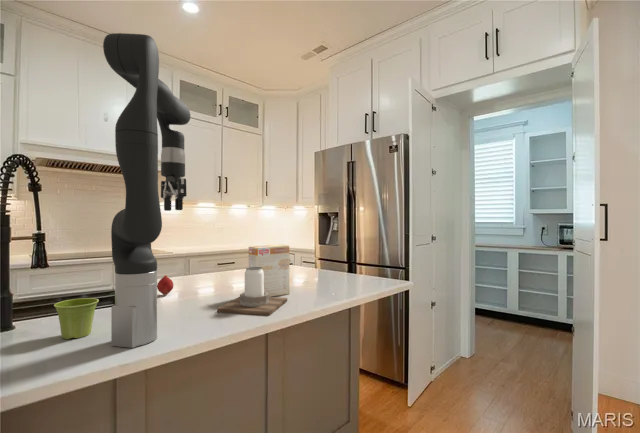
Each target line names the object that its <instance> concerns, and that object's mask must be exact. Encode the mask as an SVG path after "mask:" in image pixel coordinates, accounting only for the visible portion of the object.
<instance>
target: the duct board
mask: <svg viewBox="0 0 640 433" xmlns="http://www.w3.org/2000/svg"><path fill="white" fill-rule="evenodd" d="M287 302H288V297H278V296H272V297H269V293H268V292H264V296H259V297H246V296H245V291H244V292H242V293H239V296H238V297H236V298H234V299H232V300H230V301H229V302H227V303H225V304H223V305H221V306H219V307H217V308H216V309H217V310H216V311H217V313H230V314H240V315H241V314H243V315H256V316H257V315H259V316H271V315H273V313H275V312H276V311H277V310H279V308H281V307H282V306H284V305H285V304H286V303H287Z"/></svg>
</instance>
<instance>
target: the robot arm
mask: <svg viewBox="0 0 640 433" xmlns="http://www.w3.org/2000/svg"><path fill="white" fill-rule="evenodd" d="M102 43H103V44H102V48H103V55H104V58H105V60H106V63H107V64H108V65H109V67H110V69H112V71H113V72H115V73H116V74H117V75H118V76H119V77H121V78H122V79H123V80H125V81H126V82H127V83H128V84H130V86H132V87H133V88H135V91H134V93H133V96H132V97H131V99H130V100H129V102H128V103H127V104H126V106H125V107H124V109H123V110H122V112H121V113H120V115H119V116H118V118H117V120H116V123H115V130H114V132H115V133H114V135H115V136H114V138H115V153H116V158H117V161H118V165H119V168H120V171H121V174H122V177H123V180H124V184H125V186H124V187H125V206H124V207H125V208H123V209H121V210H120V211H118V212H117V213H116V214H115V215H114V217H113V220H112V222H111V228H110V229H111V231H110V232H111V233H110V234H111V235H110V236H111V237H110V238H111V258H112V262H113V265H114V305H112V306H111V321H110V322H111V329H110V330H111V331H110V332H111V336H110V338H111V344H110V345H111V347H120V348H129V349H131V348H132V349H133V348H136V347H139V346H143V345H147V344H149V343H152V342H154V341H155V340H156V339H157V337H158V289H157V284H158V261H157V258H156V257H155V255H154V254H153V251H152V243H153V242H155V241H156V240H157V239H158V238H159V236H160V234H161V231H162V227H163V221H162V220H163V218H162V210H161V205H160V204H161V203H160V198H161V199H163V210H164V211H172V198H173V195H174V197H175V199H174V200H175V201H174V210H175V211H183V209H184V208H183V205H184V204H183V203H184V202H183V200H184V199H185V197H187V179H186V178H185V177H186V153H185V135H184V133H183V132H180V131H178V130H174V129H171V127H170V126H172V125H173V126H184V125H187V124H188V123H189V122H190V120H191V111H190V108H189V107H188V106H187V104H186V103H185V102H184V101H182V100H181V99H179V98H178V97H177V96H175V95H174V93H173V92H172V90H171V89H170V87H169V86H168V85H167V84H166V83H165V82H163V81H162V79H160V78H159V72H160V71H159V70H160V55H159V54H160V53H159V48H158V45H157V42H156V41H155V39H154V38H153V37H152V36H151V35H148V34H141V33H125V32H124V33H121V32H119V33H115V32H113V33H108V34H107V35H105V37H104V39H103V42H102ZM158 125H159V129H160V134H161V152H160V175H161V177H164V178H165V180H161V181H160V194H159V163H158V162H159V158H158V157H159V134H158V133H159V131H158ZM159 195H160V196H159Z"/></svg>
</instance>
